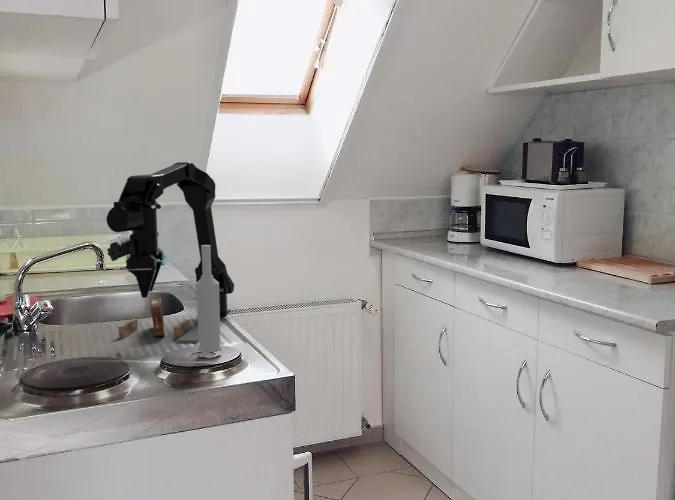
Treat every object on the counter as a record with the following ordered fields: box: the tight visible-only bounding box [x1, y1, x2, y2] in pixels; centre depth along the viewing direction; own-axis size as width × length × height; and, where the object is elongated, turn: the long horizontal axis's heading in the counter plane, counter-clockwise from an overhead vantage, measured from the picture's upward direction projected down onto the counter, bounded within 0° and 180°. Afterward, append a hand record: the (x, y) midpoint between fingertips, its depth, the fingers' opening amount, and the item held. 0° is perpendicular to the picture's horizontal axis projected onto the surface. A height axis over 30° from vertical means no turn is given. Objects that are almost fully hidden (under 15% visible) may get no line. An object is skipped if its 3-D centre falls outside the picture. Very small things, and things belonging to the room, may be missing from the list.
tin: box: [150, 297, 166, 338], centre depth 180 cm, size 15×3×8 cm, turn 14°
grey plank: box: [176, 324, 199, 344], centre depth 177 cm, size 16×5×1 cm, turn 174°
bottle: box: [195, 245, 222, 352], centre depth 156 cm, size 5×5×25 cm
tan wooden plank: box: [118, 318, 191, 340], centre depth 178 cm, size 9×15×3 cm, turn 84°
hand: (147, 294), depth 166 cm, fingers open, 9 cm apart
